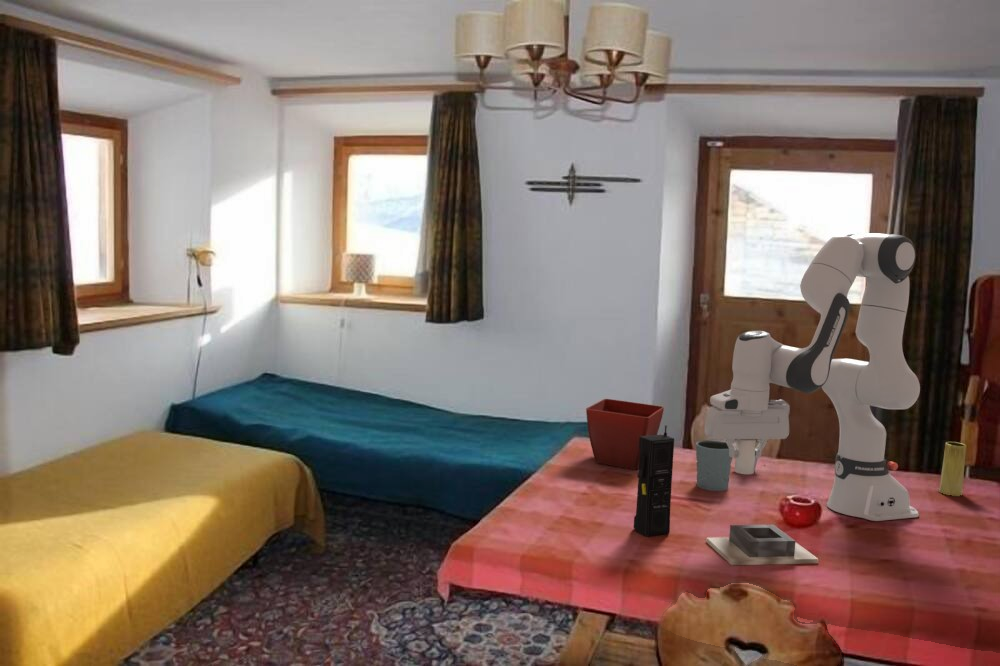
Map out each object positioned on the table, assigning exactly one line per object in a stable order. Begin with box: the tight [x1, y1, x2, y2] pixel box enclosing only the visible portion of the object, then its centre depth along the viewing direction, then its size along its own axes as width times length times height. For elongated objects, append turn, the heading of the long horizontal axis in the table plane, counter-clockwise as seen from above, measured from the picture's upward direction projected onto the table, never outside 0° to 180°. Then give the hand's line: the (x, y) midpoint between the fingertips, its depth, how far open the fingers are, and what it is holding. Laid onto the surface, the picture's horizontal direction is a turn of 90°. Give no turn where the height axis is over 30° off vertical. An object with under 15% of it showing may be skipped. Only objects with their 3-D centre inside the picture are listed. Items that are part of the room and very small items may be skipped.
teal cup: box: [695, 439, 735, 492], centre depth 252 cm, size 10×10×12 cm
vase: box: [938, 441, 967, 497], centre depth 256 cm, size 6×6×14 cm
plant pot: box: [585, 398, 665, 470], centre depth 273 cm, size 19×19×17 cm
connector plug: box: [733, 439, 757, 475], centre depth 217 cm, size 4×4×8 cm
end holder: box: [705, 524, 819, 566], centre depth 203 cm, size 20×14×4 cm
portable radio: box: [633, 425, 675, 537], centre depth 212 cm, size 8×6×25 cm
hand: (744, 456), depth 217 cm, fingers closed on connector plug, 4 cm apart
